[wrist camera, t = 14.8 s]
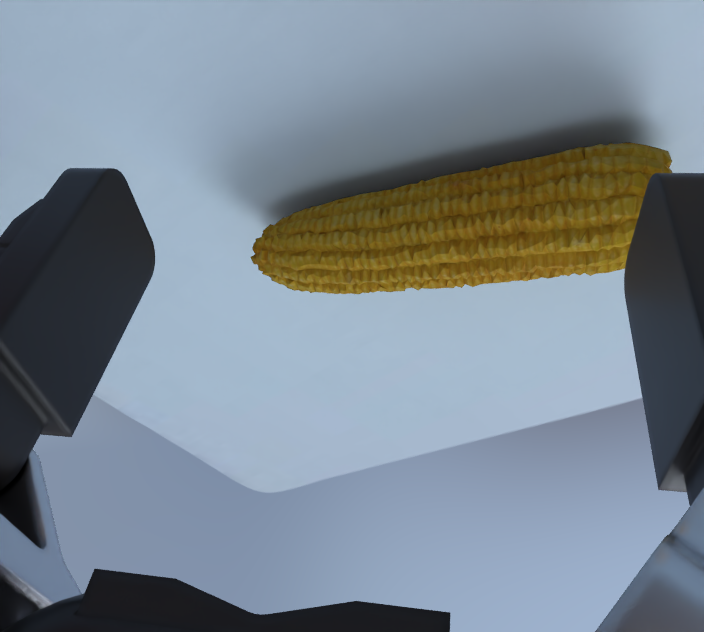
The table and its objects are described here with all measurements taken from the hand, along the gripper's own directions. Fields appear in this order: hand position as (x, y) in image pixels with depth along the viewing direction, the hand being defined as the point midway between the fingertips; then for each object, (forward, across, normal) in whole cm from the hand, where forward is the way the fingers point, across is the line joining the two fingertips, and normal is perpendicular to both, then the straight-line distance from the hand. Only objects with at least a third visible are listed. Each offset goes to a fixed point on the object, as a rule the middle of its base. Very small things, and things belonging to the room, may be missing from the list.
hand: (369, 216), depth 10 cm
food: (+20, 0, +15) cm, 25 cm away
